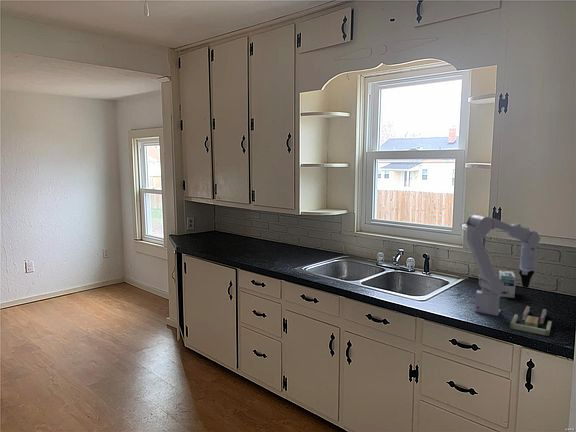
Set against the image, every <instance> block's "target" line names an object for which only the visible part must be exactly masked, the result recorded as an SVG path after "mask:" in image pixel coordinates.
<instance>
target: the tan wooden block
mask: <svg viewBox="0 0 576 432" xmlns="http://www.w3.org/2000/svg"><path fill="white" fill-rule="evenodd" d="M524 325H526V326H531V327H536V328H538V326H537V320H532V319H526V320H524Z"/></svg>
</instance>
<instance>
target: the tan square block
mask: <svg viewBox="0 0 576 432" xmlns="http://www.w3.org/2000/svg"><path fill="white" fill-rule="evenodd" d="M526 319H532V320H537V327H538V326H539V321H540V318H539V316H533V315H528V316H527V318H526Z"/></svg>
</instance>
